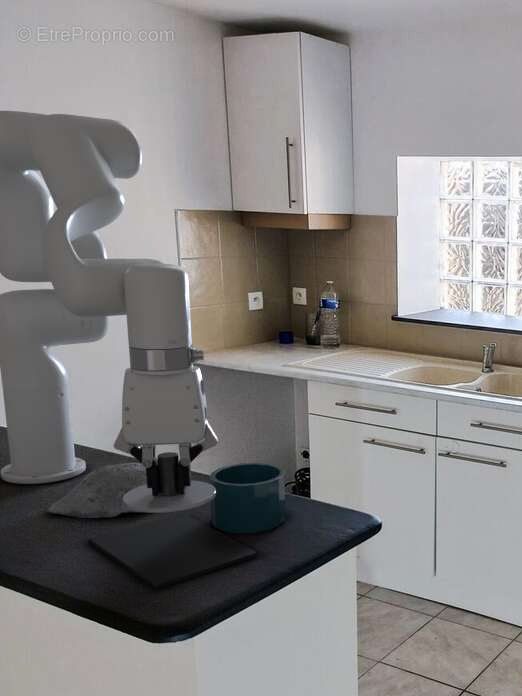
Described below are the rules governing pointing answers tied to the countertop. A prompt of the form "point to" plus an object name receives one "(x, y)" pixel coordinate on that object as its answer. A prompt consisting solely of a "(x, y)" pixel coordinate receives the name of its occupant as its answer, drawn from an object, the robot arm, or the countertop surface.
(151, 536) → the mat
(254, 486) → the pot
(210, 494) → the lid
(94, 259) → the robot arm
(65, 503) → the stone
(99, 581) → the countertop surface
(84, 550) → the countertop surface
